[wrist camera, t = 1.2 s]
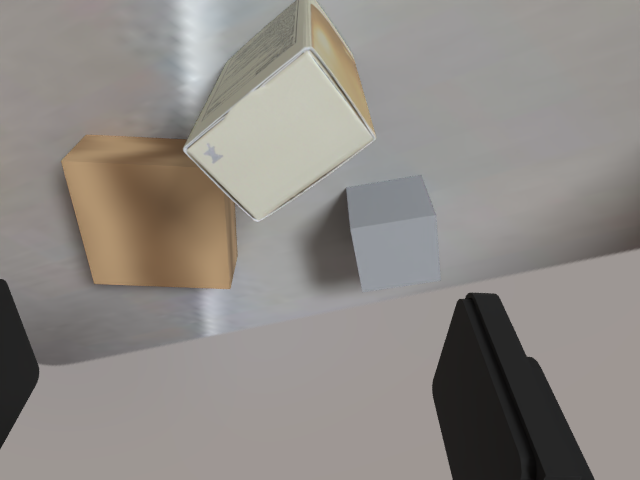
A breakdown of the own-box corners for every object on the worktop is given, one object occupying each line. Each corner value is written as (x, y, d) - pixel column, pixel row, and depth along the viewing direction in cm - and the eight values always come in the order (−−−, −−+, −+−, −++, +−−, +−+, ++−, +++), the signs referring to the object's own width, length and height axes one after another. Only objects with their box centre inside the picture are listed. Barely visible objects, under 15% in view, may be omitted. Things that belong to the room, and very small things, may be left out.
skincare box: (273, 119, 30) (251, 231, 20) (223, 61, 28) (172, 154, 18) (359, 52, 28) (382, 142, 18) (312, -16, 26) (308, 43, 16)
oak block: (232, 139, 32) (222, 168, 28) (238, 253, 37) (230, 289, 33) (88, 132, 31) (61, 161, 28) (114, 248, 36) (94, 283, 33)
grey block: (421, 174, 33) (436, 214, 29) (426, 235, 36) (440, 280, 31) (346, 187, 33) (350, 228, 29) (357, 246, 36) (362, 292, 32)
